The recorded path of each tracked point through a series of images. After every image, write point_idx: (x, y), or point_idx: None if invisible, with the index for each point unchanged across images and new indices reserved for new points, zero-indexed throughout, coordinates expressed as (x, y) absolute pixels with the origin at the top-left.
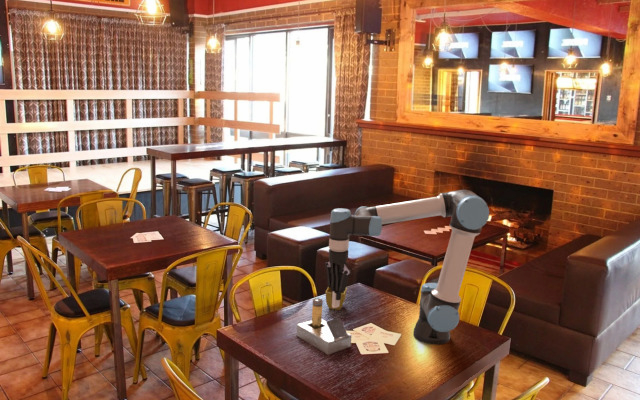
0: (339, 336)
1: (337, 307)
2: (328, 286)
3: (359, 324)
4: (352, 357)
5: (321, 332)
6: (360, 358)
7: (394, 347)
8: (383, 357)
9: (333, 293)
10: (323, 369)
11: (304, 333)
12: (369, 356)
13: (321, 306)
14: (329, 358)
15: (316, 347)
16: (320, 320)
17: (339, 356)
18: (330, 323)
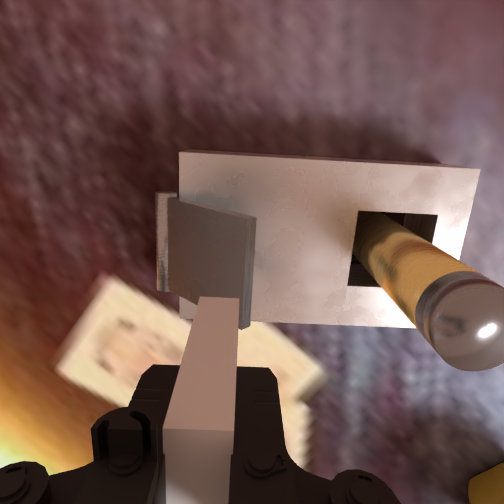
0: (169, 233)
1: (482, 483)
2: (371, 484)
3: (318, 450)
4: (103, 223)
5: (303, 211)
6: (76, 245)
7: (79, 416)
8: (32, 326)
9: (209, 406)
10: (80, 14)
11: (393, 162)
12: (70, 288)
13: (413, 315)
14: (156, 127)
15: (280, 154)
16: (373, 269)
17: (144, 182)
18: (231, 234)
